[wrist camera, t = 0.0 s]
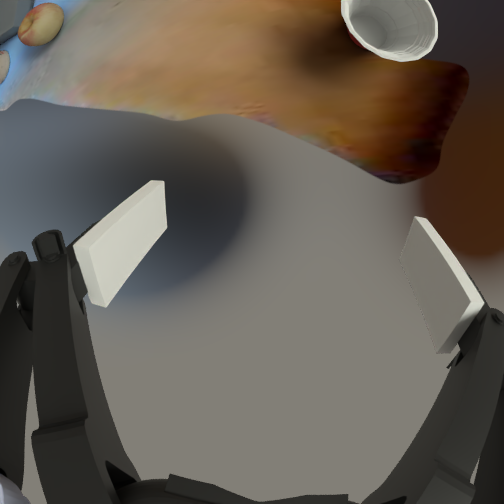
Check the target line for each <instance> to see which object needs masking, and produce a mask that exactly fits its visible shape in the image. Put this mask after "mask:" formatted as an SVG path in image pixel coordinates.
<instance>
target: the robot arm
mask: <svg viewBox="0 0 504 504" xmlns="http://www.w3.org/2000/svg"><path fill="white" fill-rule="evenodd" d="M166 228H167V221H166V207H165V191H164V181H153V180H151V181H150V182H148V183H147V184H146V185H144V186H143V187H142V188H141V189H139V190H138V191H137V192H135V193H134V194H133V195H131V196H130V197H129V198H128V199H126V200H125V201H124V202H123V203H121V204H120V205H119V206H118V207H116V208H115V209H114V210H113V211H111V212H110V213H109V214H108V215H107V216H106V217H104V218H103V219H101V220H99V221H97V222H96V223H94V224H92V225H91V226H90V227H89V228H87V229H86V231H84V232H83V233H82V234H81V236H78V237H77V238H76V239H75V240H74V241H73V242H72V243H71V244H70V245H68V246H67V247H65V244H64V240H63V236H62V233H61V231H59V230H49V231H46V232H43V233H41V234H39V235H38V236H37V237H35V239H34V240H33V241H32V246H33V249H34V252H35V255H36V257H37V260H38V261H33V262H29V260H28V257H27V255H26V253H25V252H23V251H19V252H13V253H12V254H10V255H9V256H8V257H7V258H5V260H4V261H3V262H2V264H1V266H0V504H30V502H29V500H28V499H27V498H26V497H25V496H23V494H22V492H21V490H22V484H23V475H24V444H25V443H24V441H25V422H26V411H27V401H28V393H29V386H30V379H31V373H32V367H33V372H34V385H35V394H36V404H37V411H38V418H39V428H38V429H37V430H35V431H33V433H32V436H31V439H32V448H33V453H34V458H35V461H36V466H37V470H38V474H39V478H40V482H41V485H42V488H43V492H44V495H45V498H46V501H47V504H358V503H355V502H351V501H348V494H342V495H341V494H340V495H304V496H299V497H293V498H287V499H281V500H274V501H265V502H257V501H253V500H250V499H248V498H245V497H243V496H240V495H237V494H235V493H232V492H230V491H227V490H225V489H223V488H220V487H218V486H216V485H213V484H209V483H204V482H200V481H196V480H191V479H188V478H184V477H180V476H176V475H173V474H170V475H169V478H168V479H151V480H143V481H141V479H140V477H139V475H138V473H137V471H136V469H135V467H134V466H133V464H132V462H131V461H130V459H129V458H128V456H127V454H126V453H125V451H124V448H123V446H122V443H121V441H120V438H119V436H118V433H117V430H116V427H115V424H114V422H113V419H112V416H111V413H110V410H109V407H108V403H107V400H106V397H105V393H104V390H103V386H102V383H101V379H100V375H99V372H98V368H97V363H96V359H95V355H94V350H93V346H92V341H91V336H90V331H89V325H88V320H87V313H86V307H85V303H84V301H83V297H84V296H85V295H86V294H87V292H88V295H89V298H90V300H91V303H92V304H96V305H99V306H102V307H107V306H108V304H109V303H110V301H111V300H112V299H113V297H114V296H115V294H116V293H117V292H118V290H119V289H120V288H121V286H122V285H123V284H124V282H125V281H126V280H127V278H128V277H129V275H130V274H131V273H132V272H133V270H134V269H135V267H136V266H137V265H138V264H139V262H140V261H141V260H142V258H143V257H144V256H145V255H146V253H147V252H148V251H149V249H150V248H151V247H152V246H153V244H154V243H155V242H156V240H157V239H158V238H159V237H160V236H161V235H162V233H163V232H164V231H165V230H166ZM399 261H400V263H401V265H402V268H403V269H404V272H405V274H406V276H407V279H408V281H409V283H410V286H411V288H412V290H413V293H414V295H415V297H416V300H417V302H418V304H419V307H420V310H421V312H422V315H423V317H424V320H425V322H426V325H427V328H428V330H429V333H430V336H431V339H432V342H433V345H434V348H435V351H436V353H451V351H452V350H453V348H454V347H455V346H456V345H457V343H458V345H459V347H460V351H459V352H458V354H457V355H456V356H455V358H454V359H453V360H452V361H451V363H450V364H449V365H448V366H447V368H448V369H449V367H450V366H451V369H450V371H449V373H448V376H447V378H446V380H445V382H444V385H443V387H442V389H441V391H440V393H439V395H438V397H437V399H436V401H435V403H434V405H433V407H432V409H431V410H430V412H429V414H428V416H427V418H426V420H425V421H424V423H423V425H422V427H421V428H420V430H419V432H418V433H417V435H416V437H415V438H414V440H413V441H412V443H411V445H410V446H409V448H408V449H407V451H406V452H405V454H404V455H403V457H402V458H401V460H400V461H399V463H398V464H397V466H396V467H395V468H394V470H393V471H392V472H391V474H390V475H389V476H388V478H387V479H386V480H385V482H384V483H383V484H382V485H381V486H380V487H379V488H378V489H377V490H375V491H374V492H373V493H372V494H370V495H369V496H368V497H367V498H366V499H365V500H364V501H363V502H362V503H361V504H504V314H503V313H502V312H501V311H499V310H497V309H494V308H490V307H489V306H488V304H487V302H486V301H485V299H484V297H483V296H482V294H481V292H480V291H478V287H477V286H476V285H475V283H474V281H473V280H472V278H471V277H470V275H468V273H466V272H465V271H464V269H463V268H462V266H461V265H460V263H459V262H458V260H457V259H456V258H455V256H454V255H453V253H452V252H451V251H450V249H449V248H448V246H447V245H446V244H445V242H444V241H443V240H442V238H441V237H440V236H439V234H438V233H437V232H436V230H435V229H434V228H433V227H432V225H431V224H430V223H429V222H428V221H427V219H425V218H421V217H416V216H414V220H413V222H412V226H411V228H410V231H409V234H408V237H407V240H406V243H405V246H404V248H403V251H402V253H401V256H400V259H399ZM16 301H17V302H18V304H19V306H18V308H17V302H16ZM479 457H480V459H479ZM478 459H479V464H478V469H477V473H476V477H475V481H474V485H473V484H471V483H470V478H471V475H472V473H473V471H474V468H475V466H476V464H477V462H478Z"/></svg>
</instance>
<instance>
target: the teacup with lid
mask: <svg viewBox="0 0 504 504" xmlns="http://www.w3.org/2000/svg"><path fill="white" fill-rule="evenodd" d="M9 64H10V58H9V54H8V52H7V51H5V50H3V51H0V84H1V83H2V82H3V81H4V79H5V78H6V76H7V73H8V70H9Z"/></svg>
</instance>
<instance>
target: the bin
mask: <svg viewBox="0 0 504 504" xmlns="http://www.w3.org/2000/svg"><path fill="white" fill-rule="evenodd" d="M33 6H34V0H0V45H1V44H2V43H4V42H5V41H7V40H8V39H10V38H11V37H13V36H15V35H16V34H18V29H19V27H20V25H21V22H22V21H23V19H24V17H25V16H26V15H27V13H28V12H29V11H30V10H32V9H33Z"/></svg>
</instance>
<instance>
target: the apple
mask: <svg viewBox="0 0 504 504" xmlns="http://www.w3.org/2000/svg"><path fill="white" fill-rule="evenodd" d="M63 20H64V13H63V10H62V8H61V7H60V6H58V5H57V4H54V3H43V4H40V5H38V6H36V7H34V8H33V9H32V10H30V11H29V12H28V13H27V15H26V16H25V17H24V19H23V21H22V22H21V25H20V27H19V29H18V37H19V39H20V41H21V42H22V43H23V44H25V45H28V46H40V45H43V44H46V43H48V42H49V41H51V40H52V39H53V38H54V37H55V36H56V35H57V33H58V32H59V30H60V28H61V26H62V23H63Z"/></svg>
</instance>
